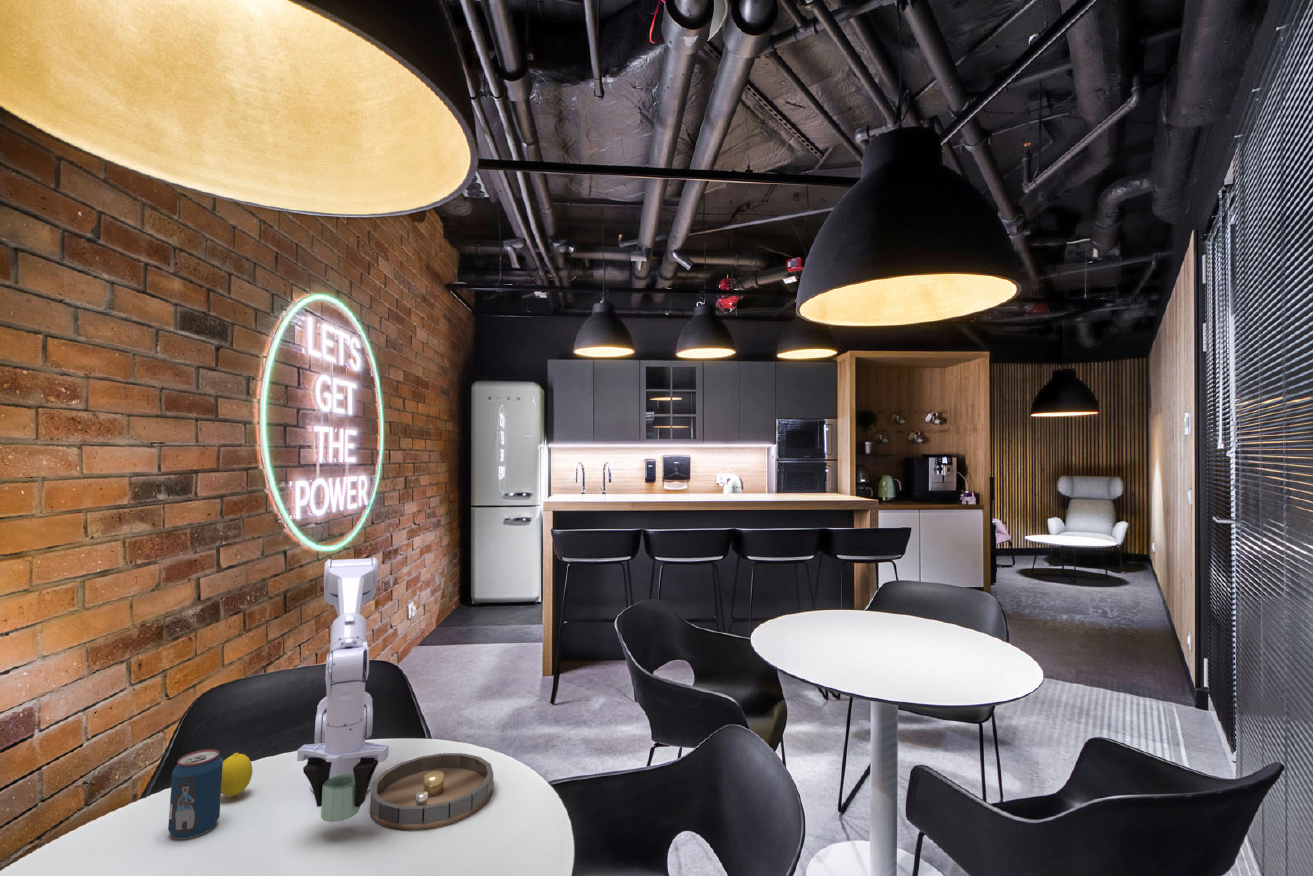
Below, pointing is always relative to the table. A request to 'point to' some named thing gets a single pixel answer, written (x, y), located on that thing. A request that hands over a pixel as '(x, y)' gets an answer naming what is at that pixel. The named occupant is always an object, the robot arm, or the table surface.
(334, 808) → the gear
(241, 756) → the lemon
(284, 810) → the table surface
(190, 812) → the soda can
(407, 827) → the tray
